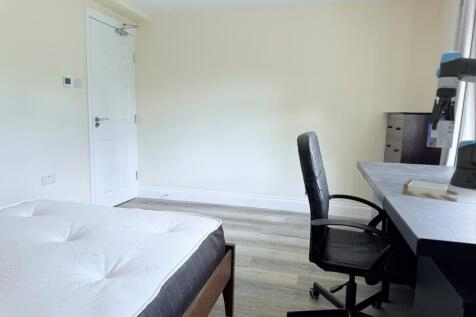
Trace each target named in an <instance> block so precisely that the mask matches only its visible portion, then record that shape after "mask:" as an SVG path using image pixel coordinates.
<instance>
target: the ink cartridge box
mask: <svg viewBox="0 0 476 317" xmlns="http://www.w3.org/2000/svg"><path fill="white" fill-rule="evenodd" d="M438 123H439V131H438V138H433V137H430V136H431V128H432V122H430V119H429V120H428V127H427V128H428V129H427V140H426V148H428V147H429V148H446V149H451V148H453V141H454V133H455V124H456V121H449V120H445V116H444V114H442V115H441V117H440V120H439V122H438Z"/></svg>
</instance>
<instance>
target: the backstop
mask: <svg viewBox="0 0 476 317" xmlns="http://www.w3.org/2000/svg"><path fill="white" fill-rule="evenodd" d="M412 180H413V179H412V178H408V180H406V181H405V182H404V183H403V188H402V191H403V192H402V195H409V196H414V197H415V196H416V197H421V198H429V199H436V200H442V201H450V202H458V197H455V196H447V195H456V196H458V195H459V190H452V189H448V190H447V195H446V196H441V195H434V194H427V193H420V192H412V191H407V187H408V184H409V183H410V182H411V181H412Z"/></svg>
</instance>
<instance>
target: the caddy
mask: <svg viewBox="0 0 476 317" xmlns="http://www.w3.org/2000/svg"><path fill="white" fill-rule="evenodd" d="M447 190H449V184H445V183H444V184H443V183H436V182H429V181H420V180H414V179H412V181H411V182H410V183H409V184H408V187H407V191H412V192H420V193H427V194H434V195H441V196H447V195H448V194H447Z"/></svg>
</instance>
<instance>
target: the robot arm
mask: <svg viewBox="0 0 476 317" xmlns="http://www.w3.org/2000/svg"><path fill="white" fill-rule="evenodd" d="M435 76H436V78H437V85H436V86H437V89H436V93H435V97H437V98H435V99H434V102H433V106H432V111H431V113H430V117H429V120H430V122H432V128H431V136H430V137H433V138H438V131H439V123H438V122H439V120H440V118H442V117H441V115H443V116H444V119H445V120H449V121H455V107H456V106H455V104H456V101H454V100H452V98H455V97H456V96H457V90H458V89H457V87H458V84H459V83H458V82H465V83H472V84H476V58H472V57H471V58H470V57H463V56H462V52H461V51H459V50H449V51H445V52H443V53H442V54H441V57H440V62H439V66H438V67H437V69H436V72H435ZM455 122H456V121H455ZM449 184H450V185H452V186H456V187H461V188H468V189H476V139H474V140H473V139H468V140H461V141H460V142H458V147H457V152H456V162H455V170H454V172H453V174H452V176H451V178H450V179H449Z"/></svg>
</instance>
